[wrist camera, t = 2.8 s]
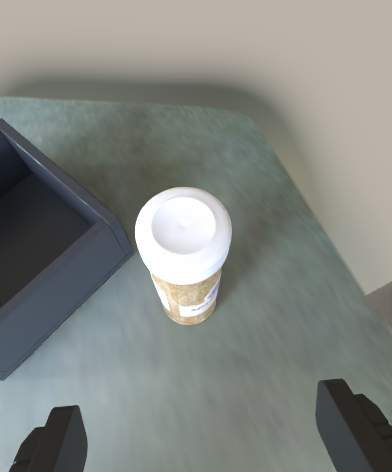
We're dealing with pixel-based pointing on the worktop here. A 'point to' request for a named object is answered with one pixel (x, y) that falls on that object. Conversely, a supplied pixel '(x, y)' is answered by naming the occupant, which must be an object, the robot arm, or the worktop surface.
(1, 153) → the open box
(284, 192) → the worktop surface
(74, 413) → the robot arm
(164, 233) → the sprinkles bottle
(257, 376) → the worktop surface
